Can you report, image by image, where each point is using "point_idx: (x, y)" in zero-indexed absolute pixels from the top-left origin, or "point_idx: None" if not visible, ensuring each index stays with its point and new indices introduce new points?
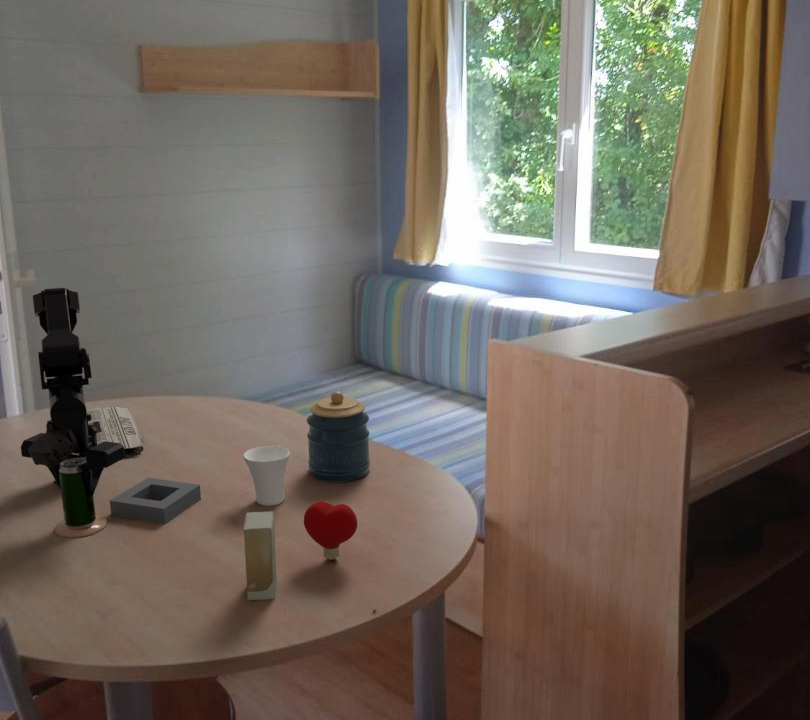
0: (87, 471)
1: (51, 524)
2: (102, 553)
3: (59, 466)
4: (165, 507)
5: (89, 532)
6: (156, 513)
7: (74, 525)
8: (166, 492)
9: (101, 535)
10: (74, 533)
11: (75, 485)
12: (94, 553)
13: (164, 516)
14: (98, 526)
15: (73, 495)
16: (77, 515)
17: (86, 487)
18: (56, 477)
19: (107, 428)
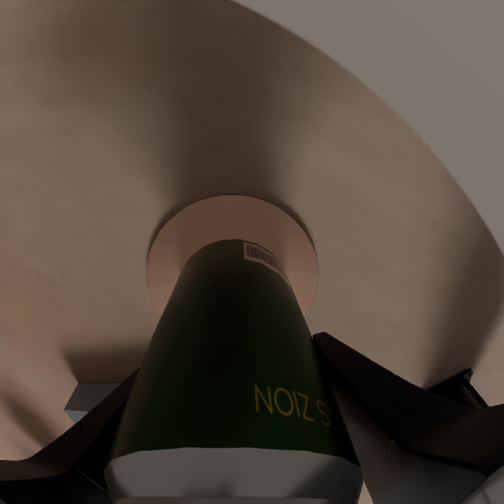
0: (17, 465)
1: (340, 240)
2: (31, 200)
3: (385, 466)
4: (69, 415)
5: (153, 261)
6: (85, 399)
7: (201, 248)
8: None
9: (122, 274)
10: (188, 227)
11: (139, 379)
12: (44, 185)
13: (71, 396)
14: None
15: (165, 323)
16: (183, 274)
17: (123, 396)
18: (368, 383)
19: None
